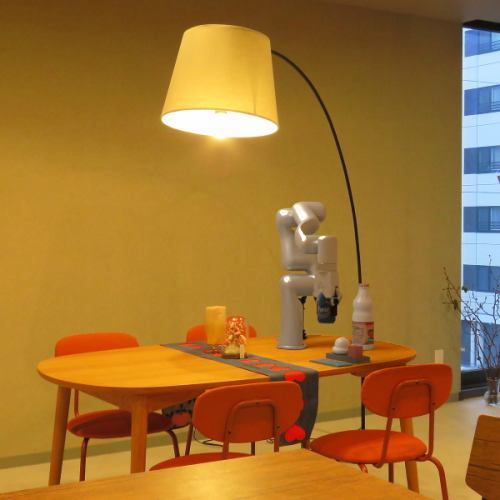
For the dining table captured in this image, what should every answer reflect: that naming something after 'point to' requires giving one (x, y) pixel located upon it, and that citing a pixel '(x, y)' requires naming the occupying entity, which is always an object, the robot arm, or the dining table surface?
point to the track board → (330, 362)
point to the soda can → (324, 310)
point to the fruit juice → (363, 319)
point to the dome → (341, 346)
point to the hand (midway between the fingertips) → (326, 314)
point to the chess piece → (303, 300)
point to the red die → (355, 350)
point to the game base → (348, 358)
